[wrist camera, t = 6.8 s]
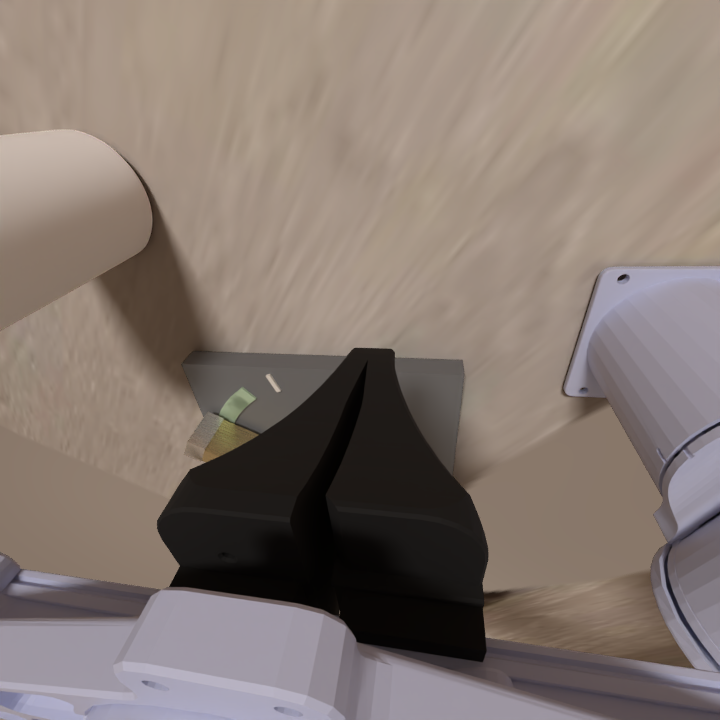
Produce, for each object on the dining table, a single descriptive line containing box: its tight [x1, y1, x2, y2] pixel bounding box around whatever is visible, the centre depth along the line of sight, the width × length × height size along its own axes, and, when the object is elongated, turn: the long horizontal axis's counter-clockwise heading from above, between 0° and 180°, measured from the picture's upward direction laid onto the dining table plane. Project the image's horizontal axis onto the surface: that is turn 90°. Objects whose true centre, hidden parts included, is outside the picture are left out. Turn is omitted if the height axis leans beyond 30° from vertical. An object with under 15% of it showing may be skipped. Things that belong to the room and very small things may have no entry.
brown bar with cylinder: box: [184, 412, 259, 462], centre depth 26 cm, size 4×12×3 cm, turn 65°
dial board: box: [181, 351, 464, 476], centre depth 29 cm, size 18×18×2 cm
